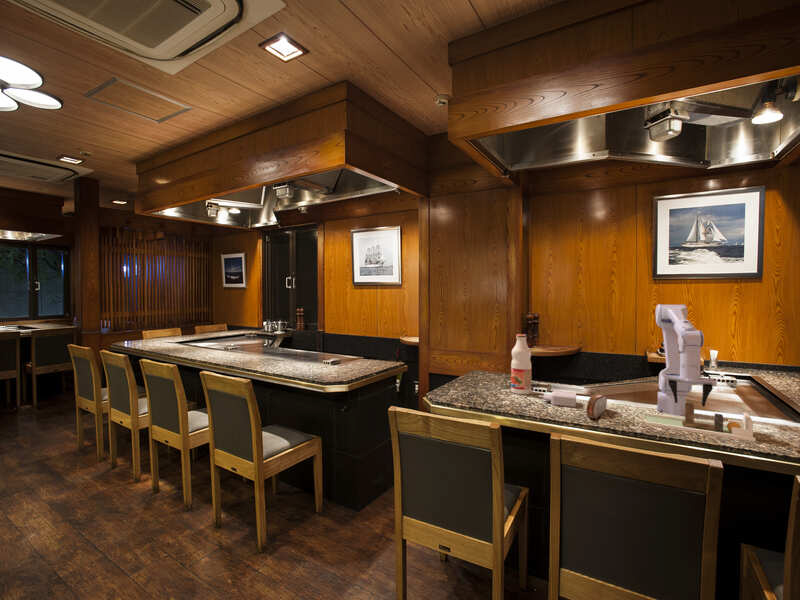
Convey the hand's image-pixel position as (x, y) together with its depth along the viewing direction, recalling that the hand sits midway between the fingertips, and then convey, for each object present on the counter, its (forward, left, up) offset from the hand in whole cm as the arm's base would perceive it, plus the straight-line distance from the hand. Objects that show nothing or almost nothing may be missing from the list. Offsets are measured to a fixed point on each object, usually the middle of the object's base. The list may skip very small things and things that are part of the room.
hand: (689, 404), depth 139 cm
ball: (+12, 0, -6) cm, 13 cm away
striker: (+3, 0, -7) cm, 8 cm away
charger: (-46, +11, -10) cm, 49 cm away
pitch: (+2, 0, -9) cm, 9 cm away
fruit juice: (-65, +21, -10) cm, 69 cm away
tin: (-29, 0, -10) cm, 31 cm away
